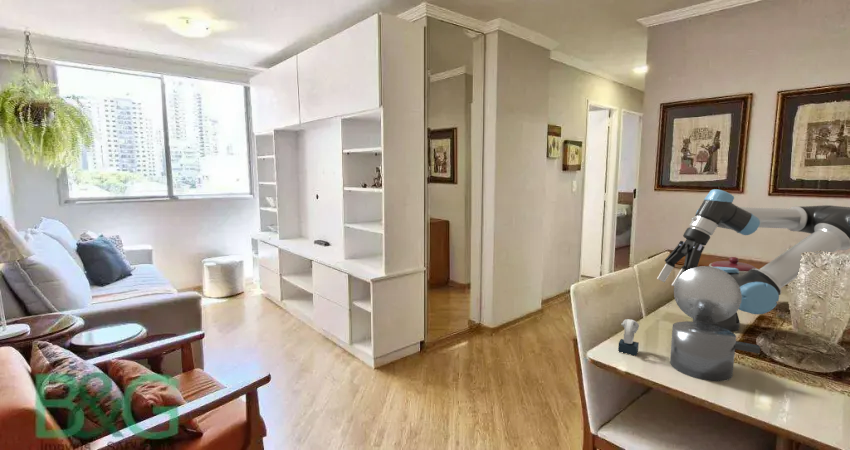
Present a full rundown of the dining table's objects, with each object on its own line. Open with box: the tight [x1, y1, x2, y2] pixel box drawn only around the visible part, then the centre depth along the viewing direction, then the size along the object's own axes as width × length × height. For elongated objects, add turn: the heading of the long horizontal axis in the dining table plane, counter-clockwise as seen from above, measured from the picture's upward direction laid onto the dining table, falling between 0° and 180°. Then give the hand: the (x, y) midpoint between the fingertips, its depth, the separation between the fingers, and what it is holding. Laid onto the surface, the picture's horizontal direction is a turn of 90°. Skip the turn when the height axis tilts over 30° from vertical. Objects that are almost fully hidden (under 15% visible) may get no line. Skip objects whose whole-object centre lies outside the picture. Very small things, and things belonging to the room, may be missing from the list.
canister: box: [708, 256, 758, 275], centre depth 188 cm, size 18×18×21 cm
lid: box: [673, 265, 742, 323], centre depth 132 cm, size 18×18×3 cm
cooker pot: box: [669, 320, 761, 382], centre depth 123 cm, size 17×22×12 cm
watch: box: [617, 318, 640, 357], centre depth 136 cm, size 6×8×11 cm
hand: (667, 283), depth 145 cm, fingers open, 13 cm apart
